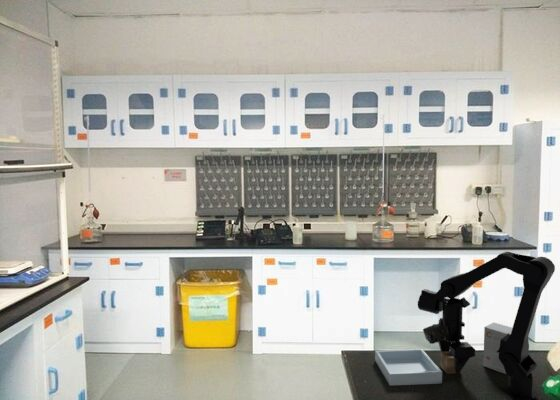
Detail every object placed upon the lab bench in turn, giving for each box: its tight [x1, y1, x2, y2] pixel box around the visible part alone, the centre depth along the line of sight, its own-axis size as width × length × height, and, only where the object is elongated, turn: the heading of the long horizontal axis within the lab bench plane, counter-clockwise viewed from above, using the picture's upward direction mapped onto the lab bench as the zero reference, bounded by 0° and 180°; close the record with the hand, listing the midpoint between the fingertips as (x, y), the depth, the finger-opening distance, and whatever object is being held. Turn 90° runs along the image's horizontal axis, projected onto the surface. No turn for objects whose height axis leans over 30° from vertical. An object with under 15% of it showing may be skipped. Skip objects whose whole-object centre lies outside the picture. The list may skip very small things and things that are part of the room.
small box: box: [482, 322, 513, 375], centre depth 138 cm, size 8×6×13 cm
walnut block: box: [440, 350, 462, 375], centre depth 138 cm, size 4×4×5 cm
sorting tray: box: [374, 348, 443, 386], centre depth 137 cm, size 16×16×4 cm
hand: (450, 365), depth 138 cm, fingers open, 9 cm apart
